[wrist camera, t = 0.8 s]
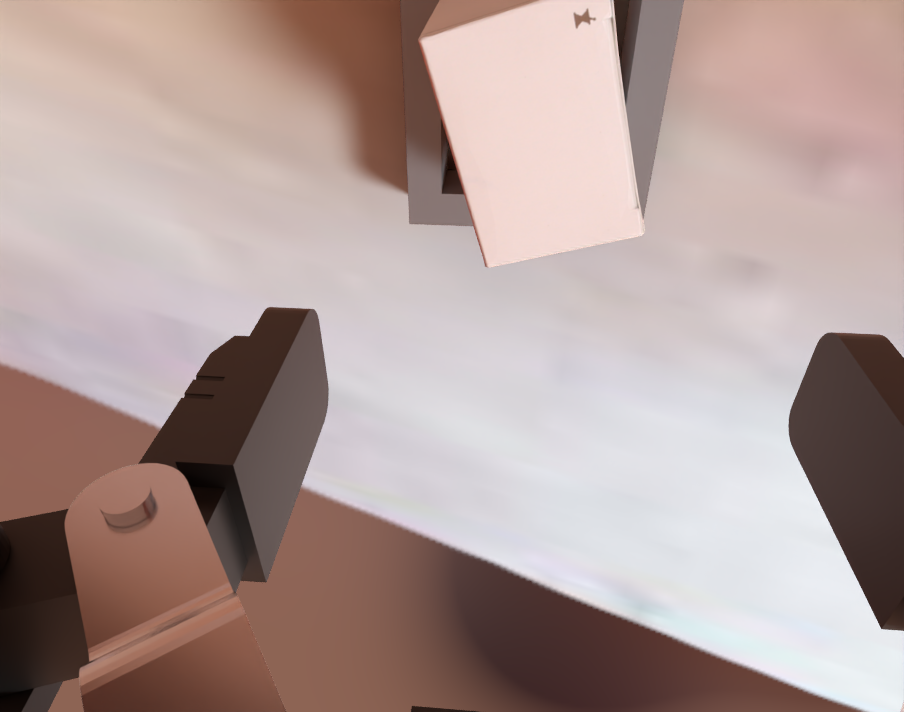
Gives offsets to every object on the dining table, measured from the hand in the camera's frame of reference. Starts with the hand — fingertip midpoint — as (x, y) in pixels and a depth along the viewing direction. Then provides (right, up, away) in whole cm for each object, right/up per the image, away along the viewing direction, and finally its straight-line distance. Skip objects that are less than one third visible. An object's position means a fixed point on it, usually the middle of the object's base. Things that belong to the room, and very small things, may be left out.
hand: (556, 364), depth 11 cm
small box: (+2, +13, +18) cm, 22 cm away
